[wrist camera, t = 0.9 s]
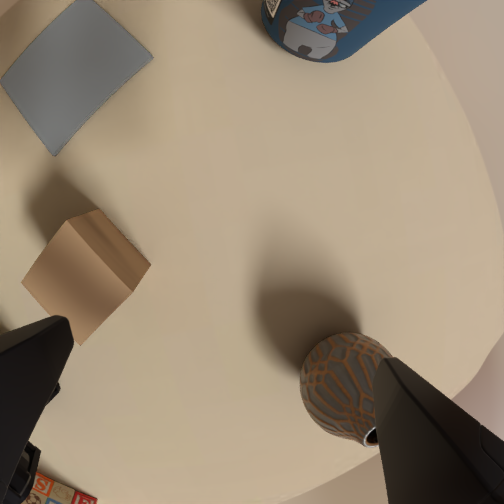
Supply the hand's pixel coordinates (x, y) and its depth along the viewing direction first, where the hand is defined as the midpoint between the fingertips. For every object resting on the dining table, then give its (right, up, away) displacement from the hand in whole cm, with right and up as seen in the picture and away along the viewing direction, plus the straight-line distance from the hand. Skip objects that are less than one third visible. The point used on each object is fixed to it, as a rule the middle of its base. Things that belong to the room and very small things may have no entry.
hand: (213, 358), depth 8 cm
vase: (+7, -5, +15) cm, 18 cm away
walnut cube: (-9, +2, +11) cm, 14 cm away
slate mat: (-12, +15, +7) cm, 21 cm away
